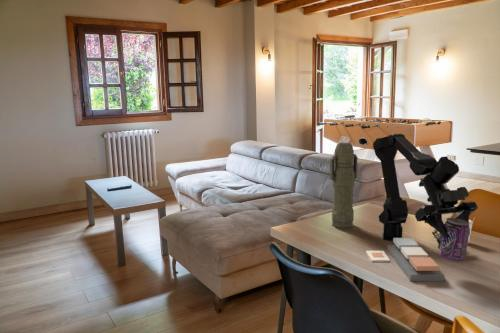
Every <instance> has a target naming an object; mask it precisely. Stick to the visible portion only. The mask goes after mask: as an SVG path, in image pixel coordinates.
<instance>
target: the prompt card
mask: <svg viewBox="0 0 500 333" xmlns="http://www.w3.org/2000/svg"><path fill="white" fill-rule="evenodd" d="M365 253H366V255H367V256H368V258H369V260H370V261H371V262H374V263H378V262H380V263H381V262H382V263H383V262H391V260H390V258H389V256H388V255H387V254H386V252H385V251H384V250H366V251H365Z"/></svg>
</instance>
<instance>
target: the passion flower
mask: <svg viewBox="0 0 500 333" xmlns="http://www.w3.org/2000/svg"><path fill="white" fill-rule="evenodd" d="M443 223H444V224H445V222H443ZM431 234H432V235H433V238H435V239H436V242H437V245H438V246H437V248H438V249H439V250H440V245H441V239H442V234H441V233H440V232H438V231H437V230H436V229H434V231H432V233H431Z"/></svg>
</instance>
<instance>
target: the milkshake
mask: <svg viewBox="0 0 500 333" xmlns="http://www.w3.org/2000/svg"><path fill="white" fill-rule="evenodd" d="M475 219H476V217H473V220H471V219H469V228H470V235H469V238H468V243H467V245H469V243H470V240H471V239H470V238H471V237H470V236H471V232H472V229H473V224H474V220H475Z"/></svg>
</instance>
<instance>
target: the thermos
mask: <svg viewBox="0 0 500 333" xmlns="http://www.w3.org/2000/svg"><path fill="white" fill-rule="evenodd" d="M358 159H359V158H358V155H357V154H356V153H354V147H353V144H352V143H350V142H339V143H337V144H336V146H335V150H334V155H332V156H331V158H330V160H329V161H330V162H329V164H330V167H329V179H330V180H331V181H332V186H333V206H332V208H331V221H332V223H331V224H332V225H331V226H332V227H334V228H336V229H339V230H340V229H342V230H345V229H352V228H353V227H354V219H355V218H354V217H355V216H354V215H355V213H354V212H355V210H354V208H353V203H354V200H353V198H354V187H355V180H356V179H357V177H358Z"/></svg>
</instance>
